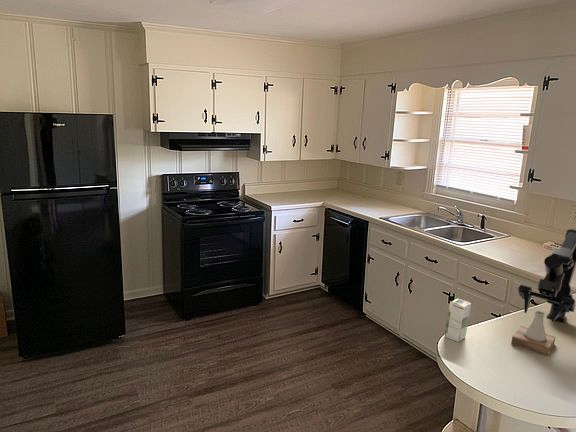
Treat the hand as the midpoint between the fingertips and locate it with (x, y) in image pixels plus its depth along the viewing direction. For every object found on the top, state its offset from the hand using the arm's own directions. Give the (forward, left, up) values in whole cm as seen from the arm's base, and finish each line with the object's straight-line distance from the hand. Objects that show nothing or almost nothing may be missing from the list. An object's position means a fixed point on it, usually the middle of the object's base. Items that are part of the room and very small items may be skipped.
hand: (538, 316), depth 165 cm
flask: (+1, 0, -8) cm, 8 cm away
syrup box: (+17, -23, -11) cm, 31 cm away
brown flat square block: (0, 0, -11) cm, 11 cm away
